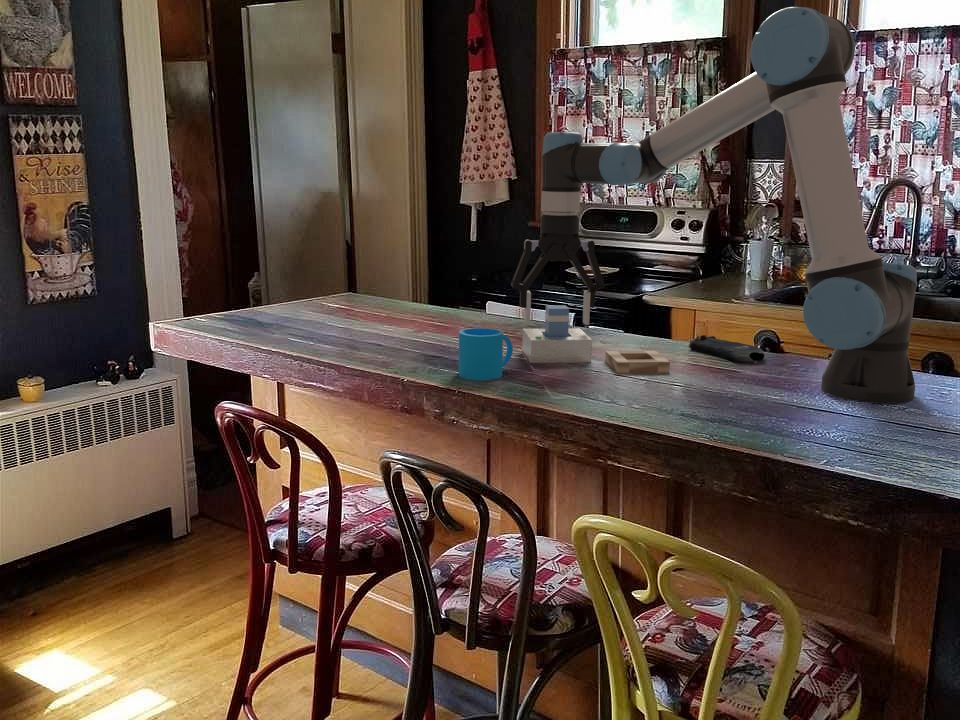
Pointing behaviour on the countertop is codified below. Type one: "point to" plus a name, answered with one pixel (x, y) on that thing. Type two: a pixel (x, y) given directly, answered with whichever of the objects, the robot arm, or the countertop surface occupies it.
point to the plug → (556, 321)
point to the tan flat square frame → (637, 362)
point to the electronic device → (726, 349)
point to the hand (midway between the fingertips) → (556, 323)
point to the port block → (556, 347)
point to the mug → (482, 353)
